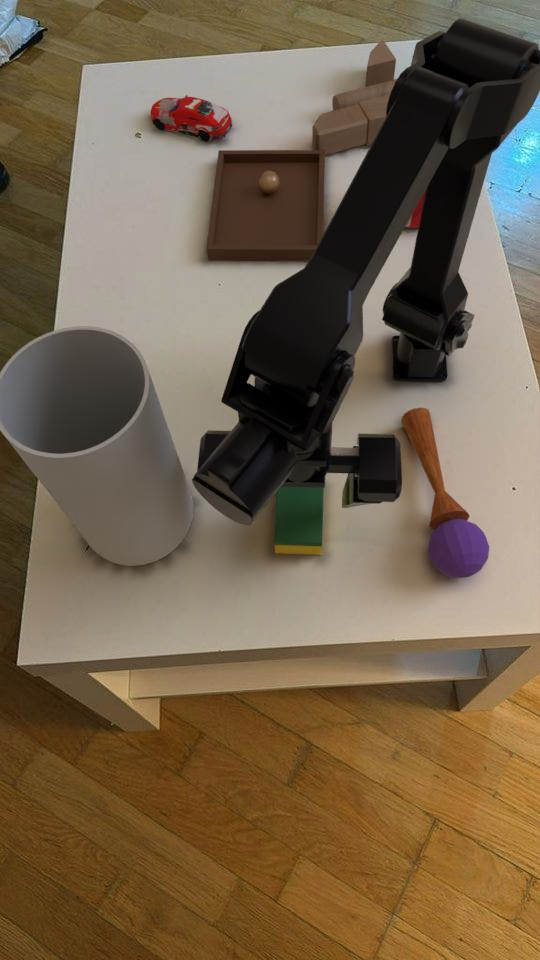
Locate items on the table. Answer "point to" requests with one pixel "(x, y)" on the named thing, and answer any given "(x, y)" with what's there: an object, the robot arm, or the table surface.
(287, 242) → the tray
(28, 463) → the cylinder vase
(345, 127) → the wooden block set
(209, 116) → the race car
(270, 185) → the tan wooden ball
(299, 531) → the sponge
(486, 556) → the kendama
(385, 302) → the robot arm
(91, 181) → the table surface
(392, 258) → the table surface
